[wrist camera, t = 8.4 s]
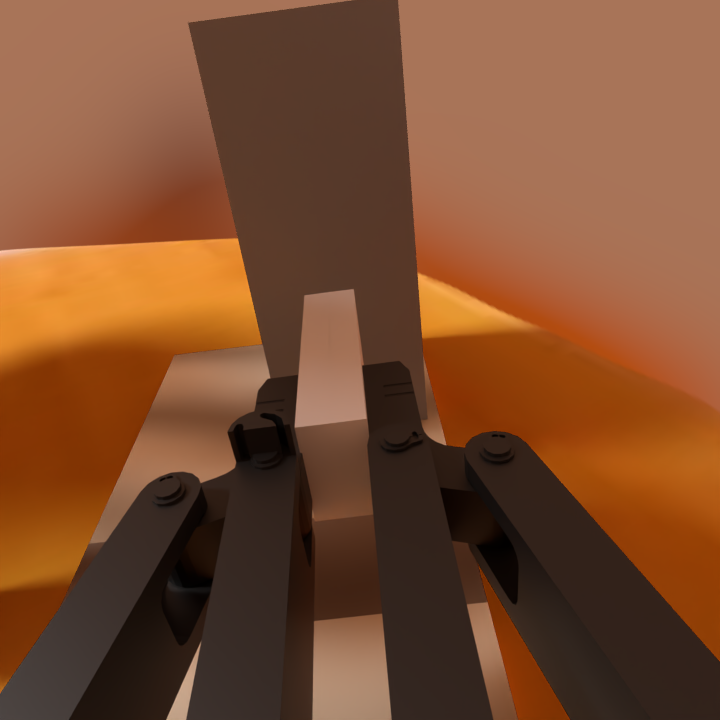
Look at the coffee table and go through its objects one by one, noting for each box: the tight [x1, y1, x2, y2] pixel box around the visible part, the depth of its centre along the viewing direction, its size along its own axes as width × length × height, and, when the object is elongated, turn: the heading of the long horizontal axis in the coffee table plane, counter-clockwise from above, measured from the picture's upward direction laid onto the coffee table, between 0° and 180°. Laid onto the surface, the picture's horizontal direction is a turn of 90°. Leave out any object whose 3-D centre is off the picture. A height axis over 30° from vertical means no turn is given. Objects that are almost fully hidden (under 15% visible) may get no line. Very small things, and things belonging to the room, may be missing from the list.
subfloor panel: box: [60, 344, 518, 720], centre depth 22 cm, size 24×13×1 cm, turn 2°
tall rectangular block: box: [189, 0, 428, 420], centre depth 24 cm, size 9×6×15 cm
